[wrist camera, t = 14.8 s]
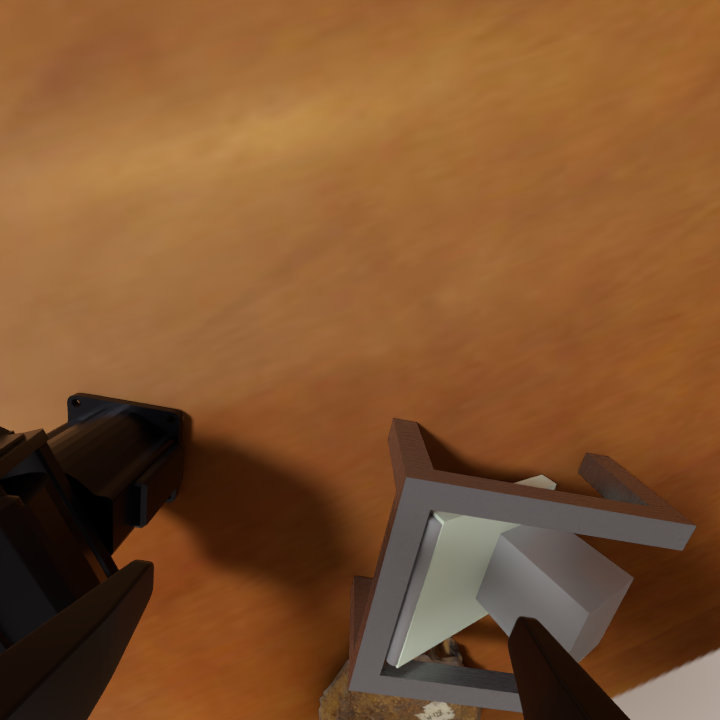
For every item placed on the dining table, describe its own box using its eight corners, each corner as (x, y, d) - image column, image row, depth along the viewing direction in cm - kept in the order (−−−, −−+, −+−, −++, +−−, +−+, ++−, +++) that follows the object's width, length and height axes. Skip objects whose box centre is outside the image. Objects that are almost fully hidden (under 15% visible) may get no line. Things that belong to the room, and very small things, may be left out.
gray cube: (475, 598, 21) (551, 686, 17) (500, 533, 20) (589, 613, 16) (522, 572, 24) (598, 643, 20) (547, 513, 23) (634, 577, 19)
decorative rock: (412, 751, 31) (490, 635, 28) (423, 822, 28) (515, 696, 24) (294, 729, 30) (362, 601, 26) (287, 801, 26) (367, 662, 22)
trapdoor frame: (350, 591, 25) (348, 690, 19) (393, 418, 21) (406, 477, 15) (534, 618, 26) (585, 720, 20) (608, 456, 22) (696, 525, 16)
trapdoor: (380, 653, 20) (390, 672, 19) (423, 509, 17) (437, 524, 16) (495, 590, 25) (507, 602, 24) (542, 474, 22) (556, 484, 22)
